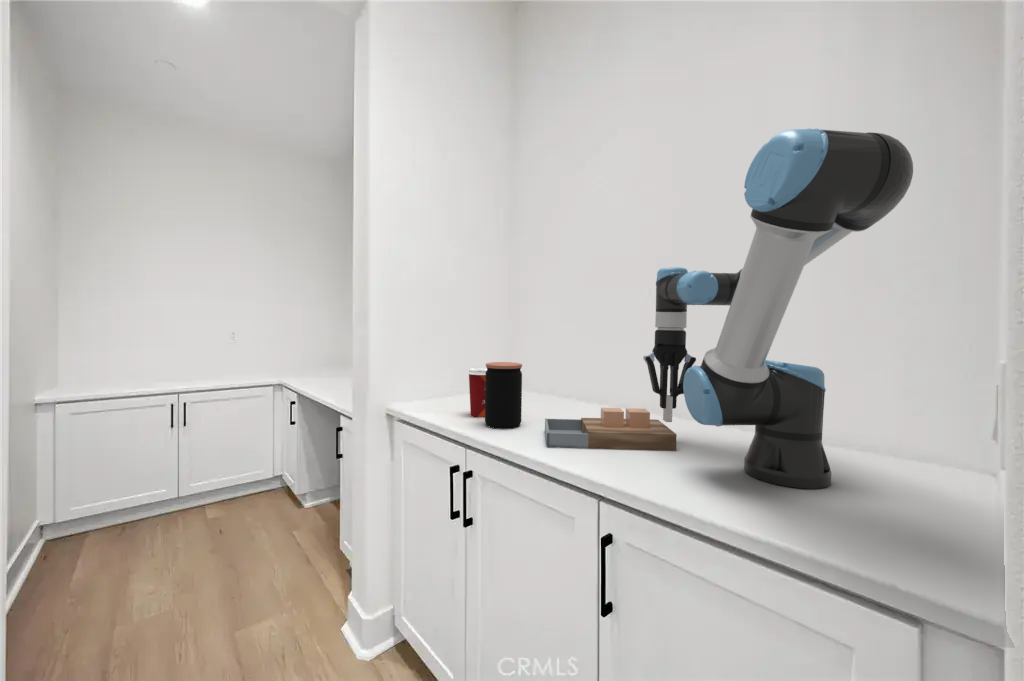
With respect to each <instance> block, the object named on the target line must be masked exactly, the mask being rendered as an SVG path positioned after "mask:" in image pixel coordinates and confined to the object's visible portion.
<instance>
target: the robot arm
mask: <svg viewBox="0 0 1024 681" xmlns="http://www.w3.org/2000/svg"><path fill="white" fill-rule="evenodd" d="M913 175H914V162H913V159H912V155H911V153H910V151H909V150H908V148H907V147H906V146H905V145H904V144H903V143H902V142H901V141H900V140H899V139H898V138H895V137H893V136H891V135H889V134H886V133H880V132H859V131H845V130H843V131H842V130H831V129H819V128H809V127H808V128H802V129H800V128H799V129H797V128H796V129H788V130H784V131H781V132H779V133H777V134H775V135H774V136H772V137H771V138H770V139H769V140H768V141H767V142H765V143H764V144H763V145H762V146H761V147H760V149H759V150H758V151H757V153H756V154H755V155H754V157H753V159H752V161H751V163H750V165H749V167H748V170H747V172H746V176H745V180H744V184H743V185H744V189H745V191H744V194H743V195H744V199H745V201H746V204H747V205H748V206H749V207H750V208H751V213H750V219H751V220H752V222H753V224H754V226H755V227H756V230H755V232H754V235H753V238H752V240H751V243H750V246H749V250H748V253H747V255H746V258H745V262H744V264H743V267H742V268H741V269H740V270H739V271H737V272H736V273H734V272H732V273H731V272H709V271H707V270H692V271H688V269H687V268H686V267H682V266H681V267H677V266H676V267H675V266H674V267H672V266H671V267H663V268H659V269H658V270H657V273H656V282H655V286H656V287H655V288H656V289H655V324H654V327H655V328H657V329H656V330H655V331H654V347H653V348H652V352H650V353H649V354H648V355H644V356H643V361H644V362H645V364H646V365H647V369H648V374H649V375H648V376H649V379H650V384H651V388H652V391H653V392H654V393H656V394H657V395H659V407H660V408H661V409H663V411H662V412H663V413H662V414H663V415H662V420H663V421H664V422H665V423H672V422H673V409H676V408H677V399H678V398H677V397H679V395H683V396H684V402H685V405H686V407H687V411H688V412H689V413H690V415H691V417H692V419H694V420H695V421H696V422H697V423H698V424H700V425H703V426H714V427H715V426H716V427H721V426H755V428H754V429H755V430H754V434H753V435H754V436H753V438H752V441H751V443H750V445H749V447H748V450H747V452H746V454H745V456H744V460H743V461H744V463H743V464H744V465H743V470H744V472H746V474H748V475H749V476H751V477H753V478H756V479H758V480H760V481H764V482H766V483H770V484H774V485H779V486H784V487H789V488H796V489H808V490H809V489H810V490H811V489H813V490H814V489H823V488H827V487H829V486H831V484H832V470H831V467H830V464H829V463H830V462H829V461H828V457H827V454H826V451H825V448H824V445H823V430H824V429H823V428H824V408H825V407H824V406H825V396H826V395H825V393H826V390H827V389H826V387H825V374H824V372H823V370H822V369H820V368H819V367H817V366H809V365H803V364H797V363H790V362H789V363H788V362H782V361H775V360H770V359H769V360H768V359H767V357H768V355H769V351H770V350H771V347H772V345H773V343H774V341H775V338H776V335H777V333H778V330H779V327H780V325H781V323H782V320H783V318H784V317H785V316H784V315H785V313H786V310H787V308H788V306H789V303H790V301H791V299H792V296H793V295H794V294H793V293H794V292H795V289H796V286H797V285H798V281H799V279H800V277H801V274H802V272H803V269H804V268H805V266H806V265H807V264H809V263H810V262H812V261H813V260H815V259H816V258H818V257H819V256H821V255H822V254H824V252H826V251H827V250H829V249H830V248H831V247H833V246H835V245H836V244H837V243H839V242H840V241H842V240H843V239H844V238H846V237H847V236H848V235H850V234H852V233H853V232H855V233H858V232H862V231H863V232H864V231H865V230H867V229H869V228H871V227H873V226H874V225H875V224H876V223H877V222H879V221H880V220H882V219H883V218H884V217H886V216H887V215H888V214H889V213H891V212H892V211H893V210H894V209H895V208H896V207H897V206H898V204H899V203H900V202H901V201H902V200H903V199H904V198H905V195H906V194H907V192H908V190H909V188H910V186H911V183H912V181H913V180H912V179H913ZM688 306H729V308H728V311H727V314H726V317H725V321H724V323H723V327H722V329H721V331H720V335H719V338H718V341H717V343H716V347H714V348H711V349H709V350H707V351H706V352H705V353H704V355H703V359H702V362H701V365H694V364H695V363H696V361H697V358H696V357H694V356H692V355H691V354H689V353H688V350H687V348H686V347H687V346H686V344H687V331H686V330H685V329H687V321H688V320H687V316H688V315H687V313H688ZM655 359H656V361H657V363H659V369H660V370H659V371H660V372H659V374H660V375H659V380H658V374H657V371H656V367H655V363H654V362H655ZM683 360H684V363H683V367H682V369H681V374H680V378H679V369H680V364H681V363H682V361H683ZM669 368H670V369H669ZM669 370H670V373H669ZM669 374H670V375H669ZM668 376H669V394H668Z"/></svg>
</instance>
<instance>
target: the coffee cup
mask: <svg viewBox="0 0 1024 681" xmlns="http://www.w3.org/2000/svg"><path fill="white" fill-rule="evenodd" d="M486 371H487V367H475V368H474V367H472V368H469V370H468V372H467V374H468V385H469V388H468V389H469V404H470V406H469V408H470V417H472V416H473V417H472V418H476V417H485V381H486Z"/></svg>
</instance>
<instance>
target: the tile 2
mask: <svg viewBox="0 0 1024 681" xmlns="http://www.w3.org/2000/svg"><path fill="white" fill-rule="evenodd" d="M625 419H626V420H625V423H626V424H627V426H628V427H629V428H650V419H651V412H650V411H649V410H647V409H646V408H634V407H633V408H630V407H625Z"/></svg>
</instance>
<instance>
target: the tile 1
mask: <svg viewBox="0 0 1024 681" xmlns="http://www.w3.org/2000/svg"><path fill="white" fill-rule="evenodd" d="M600 418H601V424H602V425H603V427H619V428H624V419H625V411H623V409H622V408H621V407H600Z"/></svg>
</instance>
